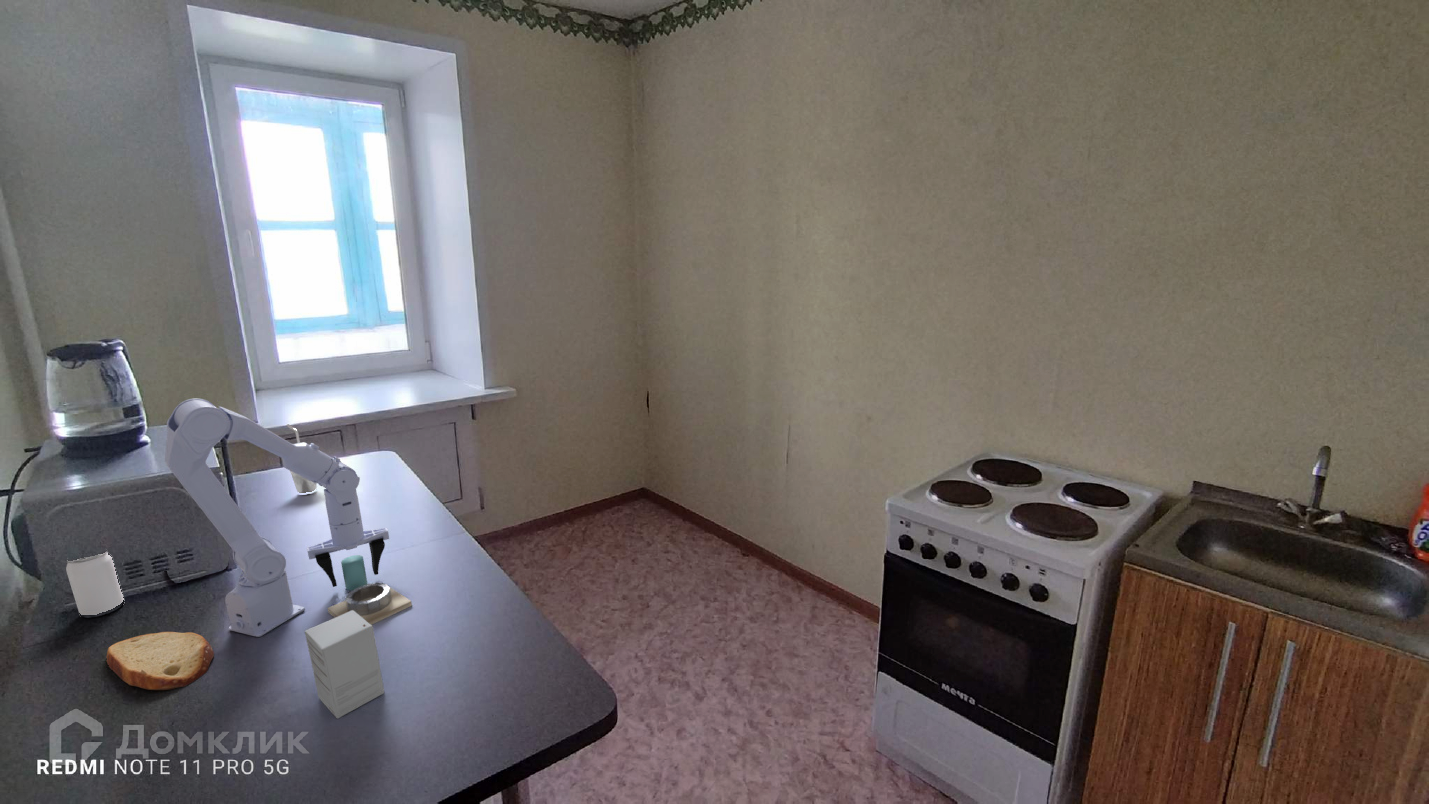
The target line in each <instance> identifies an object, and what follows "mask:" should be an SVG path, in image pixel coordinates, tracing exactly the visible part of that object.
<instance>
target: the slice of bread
mask: <svg viewBox="0 0 1429 804" xmlns="http://www.w3.org/2000/svg"><path fill="white" fill-rule="evenodd" d="M214 656H215V651H214V650H213V647H212V645H211V644H210V643H209V641H207V640H206V639H205V638H204V637H203V636H202V635H200V634H198V633H195V632H191V631H189V632H175V631H161V632H157V633H156V632H155V633H145V634H142V635H137V636H134V637H130V638H127V639H124V640H121V641H118V642H115V643H113V644H112V645H110V646H108V648H107V652H106V657H105V659H106V658H107V660H106V663H107V665H109V666H108V667H109V669H110V670H111V671H112V670H113V671H112V672H114V674H116V675H117V676H118V678H120V679H121V680H122V681H123V682H125V684H128V685H129V686H132V687H138V688H141V689H144V690H149V691H167V690H174V689H176V688H182V687H183V688H184V687H185V686H188V685H191V684H192V683H194V682H195V681H196V680H198V679H199V678H201V677H202V676H204V675H205V674H206V673H207V672H208V671H209V667H210V665H211V662H212V659H213V658H214Z"/></svg>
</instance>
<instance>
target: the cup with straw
mask: <svg viewBox="0 0 1429 804" xmlns="http://www.w3.org/2000/svg"><path fill="white" fill-rule="evenodd" d="M286 427H288V428H289V429H290V430H292V431H293V432H294V433H295V436H296V444H297V443H301V440H300V434H299V431H298V429H297V428H296V427H294V426H292V425H290V424H287V423H286ZM288 471H289V473H291V474H290V475H291V477H292V480H293V483H294V486H295V489H296V491H297V493H298V492H299V493H306V492H312V491H314V490H315V489H316V490H317V487H318V486H317V483H313V482H311V481H310V480H308V479H306V478H304V477H302V476H300V475H298V474H296V473H294V472H292V471H290V470H288Z"/></svg>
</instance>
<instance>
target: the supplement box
mask: <svg viewBox="0 0 1429 804" xmlns="http://www.w3.org/2000/svg"><path fill="white" fill-rule="evenodd" d="M304 635H305V639H306V643H307V649H308V653H309V658H310V663H311V667H312V671H313V677H314V682H315V688H316V692H317V696H318V699H319V700H320V701H321V702H322V704H323V705H324V706H325V707H326V708H327V709H328V710H329V711H330V712H331V714H333V716H334V717H335V718H336V719H340V718H342V717H344V716H345V715H347V714H349V713H351V712H352V711H354V710H356V709H358V708H360V707H361V706H363V705H365V704H368V703H369V702H370V701H373V700H374V699H377V698H378V697H380V696H382V695H383V694H385V687H384V682H383V678H382V677H383V676H382V670H381V665H380V659H379V655H378V648H377V647H378V646H377V643H376V638H375V637H376V636H375V632H374V626H373V624H372V625H371V624H369V623H368V622H367V621H366V620H364V619H363V618H362V617H361V616H360V615H358V614H357V613H356V612H355V611H353V610H351V611H349V612H347V613H345V614H342V615H340V616H338V617H336V618H335V617H333V618H331V619H329V620H327V621H324V622H322V623H319V624H318V625H315V626H313V627H310V628H308V629H306V630H304Z"/></svg>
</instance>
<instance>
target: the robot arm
mask: <svg viewBox="0 0 1429 804" xmlns="http://www.w3.org/2000/svg"><path fill="white" fill-rule="evenodd" d="M166 431H167V432H166V433H167V435H166V444H165V454H164V462H165V464H166V466H167V467H168V469H169V470H170V471H171V473H172V474H173V475H174V477H175V478H176V479H177V480H178V482H179V483H180V484H181V485H182V487H183V488H184V489H185V490H186V492H187V493H188V495H189V496H190V497H191V499H193V500H194V502H195V504H197V506H198V507H199V508H200V509H201V511H202V512H203V513H204V515H205V516H206V517H207V519H208V520H209V521H210V522H211V524H212V525H213V526H214V527H215V528H216V530H217V531H218V532H219V534H220V536H222V538H224V540H225V541H226V542H227V544H228V545H229V546H230V548H231V550H232V559H233V561H234V562H233V563H235V564H236V566H238V567H239V568H240V569H241V572H240V575H239V578H238V582H239V583H238V584H237V585H236V586H235V587H234V589H232V590H231V591H229V592H228V593H227V594H226V595H225V599H224V600H225V602H224V603H225V608H226V612H227V615H228V619H229V624H230V626H229V627H228V630H229V631H232V632H236V633H241V634H244V635H248V636H253V637H257V638H260V637H262V636H264V635H265V634H267V633H268V632H271V631H272V630H273V629H275V628H277V627H278V626H280V625H282V624H283V623H285V622H286V621H288V620H290V619H293V618H294V617H295V616H297V615H298V614H300V613H302V612H303V611H305V610H306V608H305V607H304V606H302V605H296V604H293V600H292V596H291V590H290V585H289V581H288V576H287V570H286V567H287V561H286V560H287V559H286V557H285V556H284V554H282V552H280V551H278V549H276V547H274V545H273V544H272V542H271V541H270V540H269V539H267V538H266V537H263V536H261V534H260V533H259V532H258V531H257V530H256V529H255V527H254V526H253V524H252V523H251V522H250V521H249V518H247V516H246V515H245V514H244V513H243V510H241V509H240V507H239V506H238V504H237V502H235V500H234V499H233V498H232V496H231V495H230V493H229V492H228V491H227V489H226V488H225V487H224V486H223V484H222V482H220V480H219V479H218V477H217V476H216V475H215V474H214V472H213V471H212V470H211V468H210V467H209V465H208V463H206V461H207V459H208V457H209V455H210V453H211V451H212V449H213V448H214V447H215V446H216V445H217V444H218V443H219V442H220V441H221V440H222V439H225V440H226V441H230V442H231V441H238V440H243V441H246V442H249V443H250V444H252V445H254V446H256V447H258V448H260V449H263V450H265V451H267V452H269V453H271V454H273V455H275V456H277V457H279V458H281V460H282V464H283V465H282V466H283V467H284V469H286V470H288V471H289V470H290V471H292V472H294V473H296V474H298V475H300V476H302V477H304V478H306V479H308V480H310V481H311V482H313V483H316V484H318V486H320V487H323V488H324V489H323V492H324V499H325V501H324V502H325V509H326V513H327V519H328V525H329V529H330V535H331V538H330V539H328V540H326V541H322V542H320V543H317V544H314V545H312V546H311V545H310V546H307V547H306V551H307V554H308V555H307V556H308V560H313V559H315V561H316V563H317V565H318V566H319V567H320V568H321V569H322V570H323V571H324V573H325V574H326V575H327V576H328V578H329V580H330V582H331V585H332V587H333V588H334V587H337V585H338V583H337V580H336V577H335V574H334V567H333V563H332V562H333V561H332V558H331V554H332V553H335V552H338V551H339V552H340V551H343V550H346V551H350V550H353V549H358V546H362V545H367V544H368V545H369V550H370V551H369V552H370V556H371V567H372V571H373V575H374V576H377V575H379V568H380V567H379V566H380V562H381V557H382V555H383V552H384V549H385V546H386V543H385V541H386V540H390V535H389V530H388V528H387V527H382V528H377V529H370V530H364V526H363V520H362V514H361V509H360V503H359V497H358V493H357V489H358V486H359V485H360V480H361V479H360V478H361V477H360V476H359V475H358V474H357V472H356V471H355V470H354V469H353V468H351V467H350V466H348V465H347V464H345V463H344V462H342V461H341V459H340V458H338V457H337V456H335V455H334V456H330V455H328V454H327V453H326V452H324V451H321V450H320V446H319V445H317V444H316V443H313V442H311V443H307V442H300V443H297V442H296V443H291V442H290V441H289V440H286V439H284V438H283V437H281V436H279V435H278V434H276V433H274V432H273V431H271V430H269V429H267V428H266V427H264V426H262V425H260V424H258V423H257V422H255V421H253V420H251V419H250V418H248V417H246V416H244V415H243V414H240V413H237V412H236V411H233V410H231V409H228V408H225V407H223V406H220V405H218V407H217V406H215V405H214V404H213V403H212V402H211V401H209V400H207V399H205V398H204V399H203V398H189V399H186V400H183V401H181V402H180V403H179V404H177V406H175V407H174V409H173V411H172V413H171V415H170V417H168V419H167V421H166ZM290 471H289V472H290Z"/></svg>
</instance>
